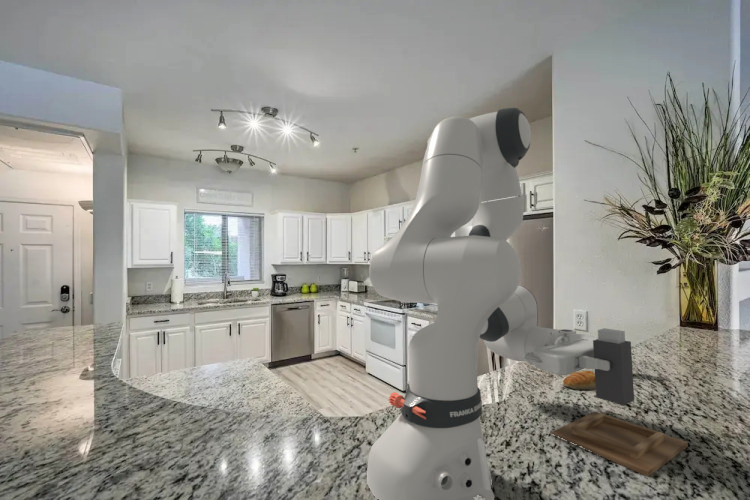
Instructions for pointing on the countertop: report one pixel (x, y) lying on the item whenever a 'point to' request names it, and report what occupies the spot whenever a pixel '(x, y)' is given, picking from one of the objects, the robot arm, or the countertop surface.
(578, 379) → the pastry
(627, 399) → the capped dark pillar
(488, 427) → the countertop surface
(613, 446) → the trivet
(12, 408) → the countertop surface
